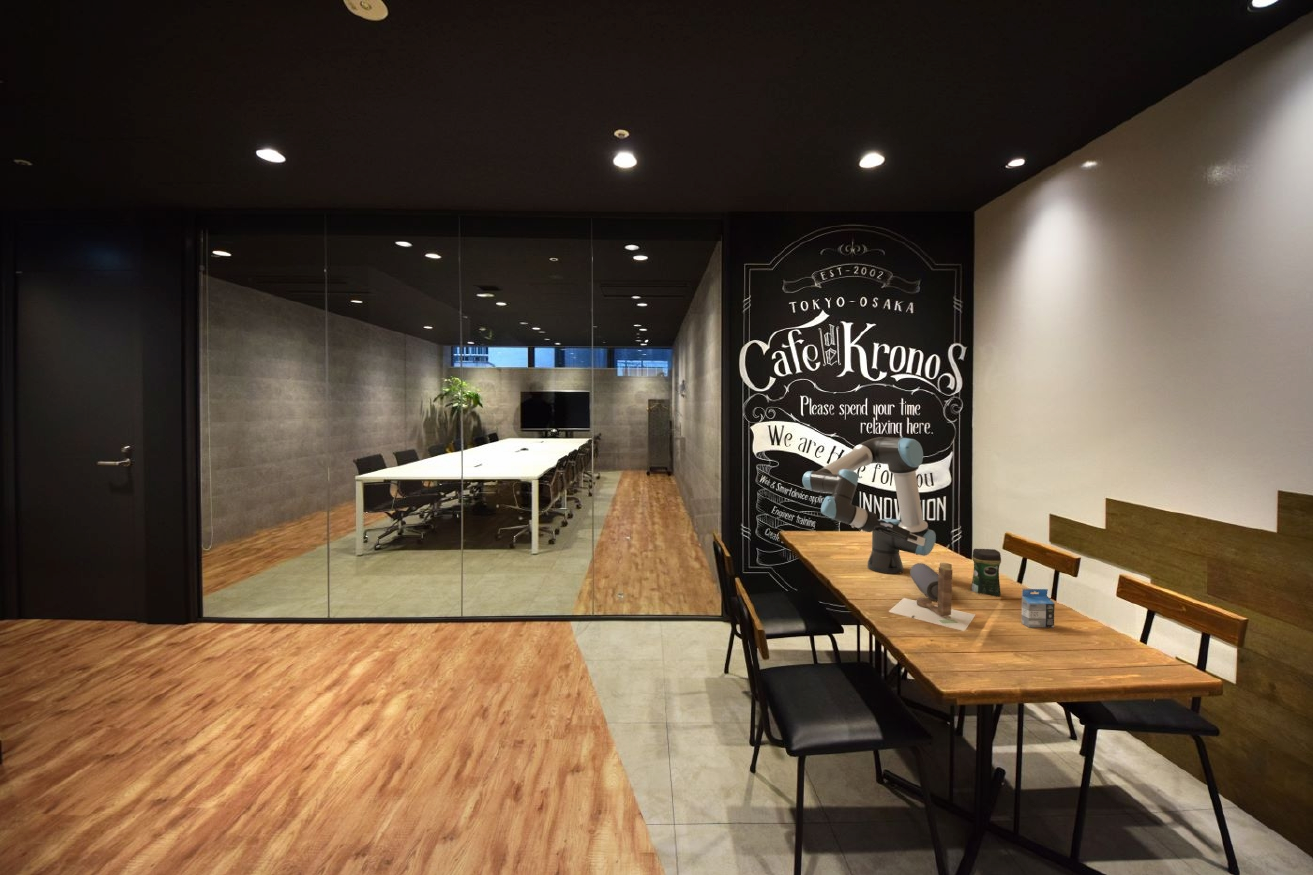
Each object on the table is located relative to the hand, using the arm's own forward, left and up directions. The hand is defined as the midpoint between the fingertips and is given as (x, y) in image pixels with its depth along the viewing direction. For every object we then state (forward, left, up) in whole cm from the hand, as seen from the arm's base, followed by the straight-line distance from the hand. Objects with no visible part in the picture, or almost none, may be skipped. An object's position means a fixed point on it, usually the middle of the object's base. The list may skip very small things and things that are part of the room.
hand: (923, 542), depth 191 cm
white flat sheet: (+5, -7, -25) cm, 26 cm away
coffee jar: (+15, +32, -25) cm, 43 cm away
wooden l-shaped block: (+5, -5, -23) cm, 24 cm away
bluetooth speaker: (-2, +17, -25) cm, 31 cm away
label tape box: (+34, +10, -25) cm, 44 cm away
